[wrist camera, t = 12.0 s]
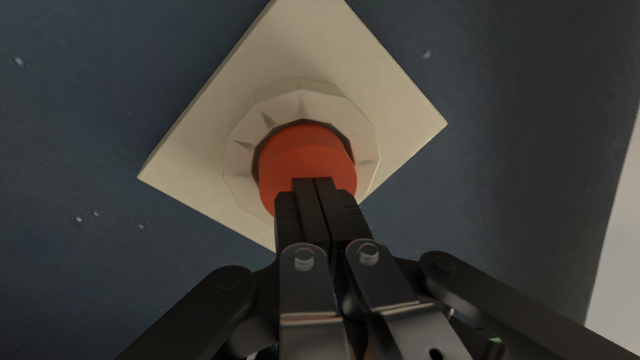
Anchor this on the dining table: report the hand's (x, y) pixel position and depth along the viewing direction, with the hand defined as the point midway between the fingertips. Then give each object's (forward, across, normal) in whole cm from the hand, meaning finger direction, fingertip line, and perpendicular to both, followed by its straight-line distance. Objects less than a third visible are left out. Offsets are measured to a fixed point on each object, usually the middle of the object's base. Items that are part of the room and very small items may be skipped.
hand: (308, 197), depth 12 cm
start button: (+3, 0, 0) cm, 3 cm away
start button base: (+6, 0, 0) cm, 6 cm away
